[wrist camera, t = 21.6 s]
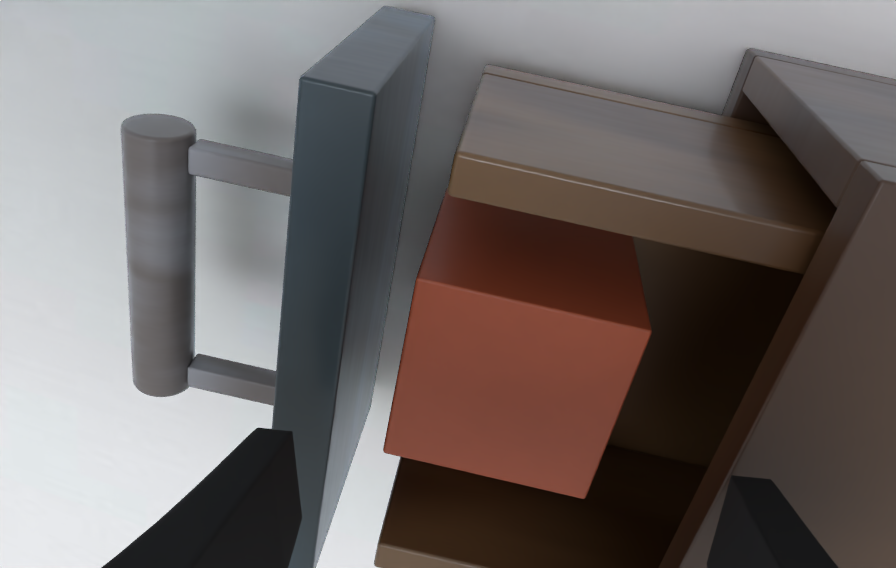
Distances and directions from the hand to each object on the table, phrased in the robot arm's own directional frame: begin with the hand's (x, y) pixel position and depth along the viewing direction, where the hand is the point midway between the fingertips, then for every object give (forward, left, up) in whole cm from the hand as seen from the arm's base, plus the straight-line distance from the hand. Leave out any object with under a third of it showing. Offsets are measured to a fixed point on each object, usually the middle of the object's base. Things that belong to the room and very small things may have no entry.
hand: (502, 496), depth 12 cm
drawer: (0, 0, -8) cm, 8 cm away
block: (0, 0, -7) cm, 7 cm away
